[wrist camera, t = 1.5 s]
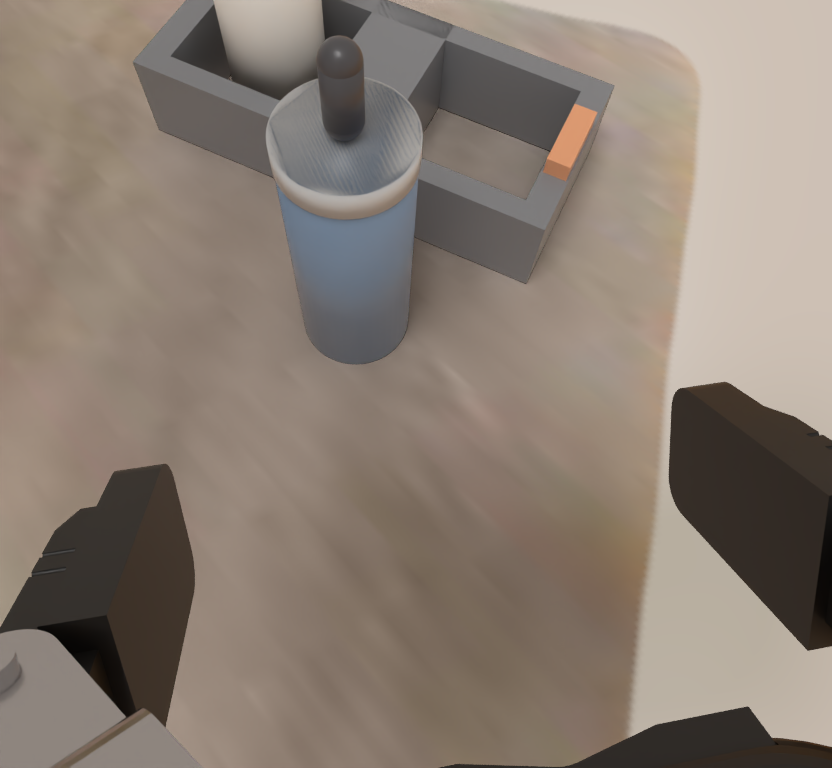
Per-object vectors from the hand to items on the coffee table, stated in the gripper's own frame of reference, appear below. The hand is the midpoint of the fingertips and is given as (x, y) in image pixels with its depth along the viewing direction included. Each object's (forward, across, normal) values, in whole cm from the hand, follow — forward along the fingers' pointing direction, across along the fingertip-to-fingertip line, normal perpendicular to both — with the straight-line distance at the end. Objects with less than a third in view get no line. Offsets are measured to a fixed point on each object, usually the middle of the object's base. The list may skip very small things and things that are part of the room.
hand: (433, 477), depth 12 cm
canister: (+20, 0, +3) cm, 20 cm away
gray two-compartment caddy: (+26, -2, -4) cm, 27 cm away
